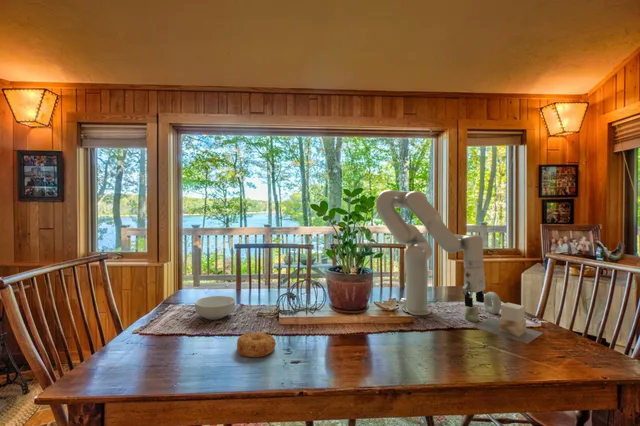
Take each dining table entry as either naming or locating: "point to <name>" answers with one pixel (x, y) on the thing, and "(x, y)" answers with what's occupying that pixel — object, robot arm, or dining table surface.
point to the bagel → (255, 344)
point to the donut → (496, 301)
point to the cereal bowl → (214, 307)
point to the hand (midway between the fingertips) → (474, 304)
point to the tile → (493, 327)
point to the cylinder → (471, 313)
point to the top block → (512, 312)
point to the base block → (512, 326)
